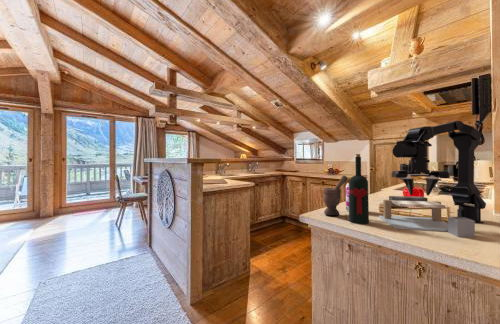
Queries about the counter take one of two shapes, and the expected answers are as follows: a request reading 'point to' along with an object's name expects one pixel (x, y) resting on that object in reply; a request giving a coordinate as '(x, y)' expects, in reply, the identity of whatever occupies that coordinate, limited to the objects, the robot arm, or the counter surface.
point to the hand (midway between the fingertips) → (419, 195)
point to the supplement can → (347, 197)
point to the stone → (461, 227)
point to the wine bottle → (358, 196)
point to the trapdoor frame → (414, 220)
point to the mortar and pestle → (333, 197)
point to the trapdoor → (413, 202)
